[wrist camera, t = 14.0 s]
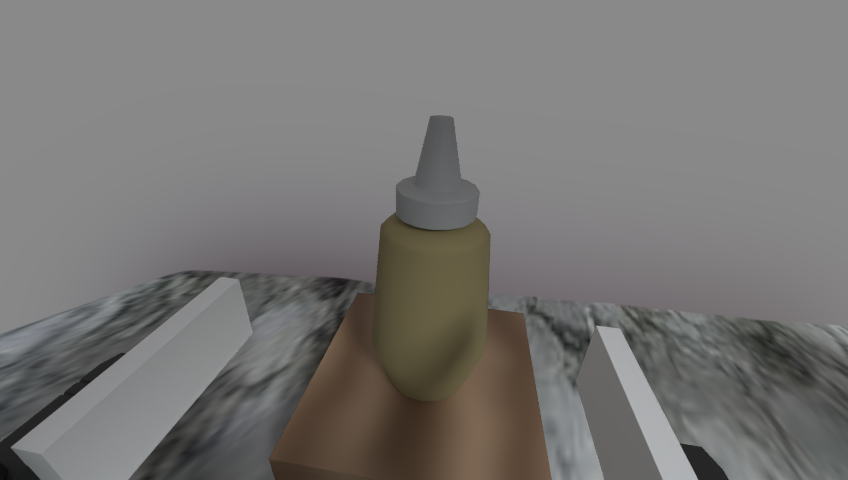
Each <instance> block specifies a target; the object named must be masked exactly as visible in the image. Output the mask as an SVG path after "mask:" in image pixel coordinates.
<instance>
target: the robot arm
mask: <svg viewBox="0 0 848 480" xmlns="http://www.w3.org/2000/svg"><path fill="white" fill-rule="evenodd" d="M252 334H253V332H252V328H251V324H250V320H249V316H248V312H247V309H246V305H245V301H244V297H243V293H242V290H241V286H240V282H239V279H233V278H225V277H220V278H219V279H217V280H216V281H215V282H214V283H212V284H211V285H210V286H209V287H207V288H206V289H205V290H204V291H203V292H201V293H200V294H199V295H198V296H196V297H195V298H194V299H193V300H191V301H190V302H189V303H188V304H187V305H185V306H184V307H183V308H182V309H180V310H179V311H178V312H177V313H175V314H174V315H173V316H172V317H171V318H169V319H168V320H167V321H166V322H164V323H163V324H162V325H161V326H159V327H158V328H157V329H156V330H155V331H153V332H152V333H151V334H150V335H148V336H147V337H146V338H145V339H143V340H142V341H141V342H140V343H139V344H137V345H136V346H135V347H134V348H132V349H131V350H130V351H129V352H127V353H120V354H118V355H117V356H115V357H113V358H111V359H109V360H107V361H105V362H103V363H102V364H100V365H98V366H97V367H96V368H95V369H93V370H92V371H91V372H89V373H88V374H87V375H86V376H84V377H83V378H82V379H81V381H80V382H79V383H75V384H74V385H73V386H72V387H70V388H69V389H68V390H67V391H65V393H64V395H60V396H59V397H58V398H56V399H55V400H54V401H52V402H51V403H50V404H49V405H47V406H46V407H45V408H44V409H42V410H41V411H40V412H38V413H37V414H36V415H35V416H33V417H32V418H31V419H30V420H28V421H27V422H26V423H24V424H23V425H22V426H21V427H19V428H18V429H17V430H16V431H14V432H13V433H12V434H10V435H9V436H8V437H7V438H5V439H4V440H3V441H2V442H0V480H128V479H129V478H130V477H131V476H132V475H133V473H134V472H135V471H136V470H137V469H138V467H139V466H140V465H141V464H142V463H143V462H144V460H145V459H146V458H147V457H148V456H149V455H150V453H151V452H152V451H153V450H154V449H155V448H156V446H157V445H158V444H159V443H160V442H161V441H162V439H163V438H164V437H165V436H166V435H167V433H168V432H169V431H170V430H171V429H172V428H173V426H174V425H175V424H176V423H177V422H178V421H179V419H180V418H181V417H182V416H183V415H184V414H185V412H186V411H187V410H188V409H189V408H190V407H191V405H192V404H193V403H194V402H195V401H196V399H197V398H198V397H199V396H200V395H201V394H202V392H203V391H204V390H205V389H206V388H207V387H208V385H209V384H210V383H211V382H212V381H213V380H214V378H215V377H216V376H217V375H218V374H219V373H220V371H221V370H222V369H223V368H224V367H225V365H226V364H227V363H228V362H229V361H230V360H231V358H232V357H233V356H234V355H235V354H236V353H237V351H238V350H239V349H240V348H241V347H242V346H243V344H244V343H245V342H246V341H247V340H248V339H249V337H250V336H251V335H252ZM576 383H577V387H578V390H579V394H580V397H581V401H582V404H583V407H584V411H585V414H586V418H587V421H588V425H589V428H590V431H591V435H592V438H593V442H594V445H595V448H596V452H597V455H598V459H599V462H600V466H601V469H602V472H603V476H604V479H605V480H729V479H728V478H727V476H726V474H725V473H724V471H723V469H722V468H721V467H720V466H719V465H718V464H717V463H716V462H715V461H714V460H713V459H712V458H711V457H710V456H709V455H708V453H707V452H706V451H705V450H704V449H703V448H702V447H698V446H692V445H686V444H680V443H679V442H678V440H677V438H676V436H675V434H674V432H673V430H672V428H671V426H670V424H669V422H668V420H667V418H666V417H665V415H664V413H663V411H662V409H661V407H660V405H659V403H658V401H657V399H656V397H655V395H654V393H653V391H652V389H651V388H650V386H649V384H648V382H647V380H646V378H645V376H644V374H643V372H642V370H641V368H640V366H639V364H638V362H637V360H636V359H635V357H634V355H633V353H632V351H631V349H630V347H629V345H628V343H627V341H626V339H625V337H624V335H623V333H622V331H621V330H620V329H619V328H611V327H603V326H596V327H595V330H594V333H593V336H592V339H591V341H590V344H589V347H588V350H587V352H586V355H585V358H584V361H583V363H582V366H581V369H580V372H579V374H578V377H577V380H576Z"/></svg>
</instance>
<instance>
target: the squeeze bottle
mask: <svg viewBox="0 0 848 480" xmlns="http://www.w3.org/2000/svg"><path fill="white" fill-rule="evenodd" d="M479 193H480V192H479V190H478V188H477V187H476V185H475V184H473V183H471V182H469V181H467V180H464V179H461V174H460V166H459V158H458V151H457V142H456V135H455V126H454V119H453V117H450V116H431V117H430V120H429V124H428V128H427V132H426V136H425V140H424V144H423V148H422V152H421V156H420V160H419V164H418V168H417V172H416V176H413V177H409V178H406V179H403V180H402V181H401V182H399V183H398V184H397V185H396V212H395V213H394V214H393V215H391V216H390V217H389V218H388V219H387V220H386V221H385V222H384V223H383V224H382V225H381V230H380V242H379V253H378V265H377V278H376V288H375V300H374V311H373V323H372V336H371V344H372V346H373V348H374V350H375V352H376V354H377V356H378V358H379V359H380V361H381V363H382V365H383V367H384V369H385V371H386V373H387V375H388V377H389V379H390V380H391V382H392V384H393V386H394V387H395V388H396V389H397V390H398V391H400V392H401V393H402V394H403V395H405V396H406V397H409V398H412V399H415V400H419V401H422V402H423V401H439V400H442V399H444V398H446V397H448V396H451V395H453V394H454V393H455V392H456V391H457V390H458V389H459V388H460V386H461V385H462V384H463V383H464V381H465V380H466V379H467V377H468V376H469V375H470V373H471V372H472V370H473V369H474V368H475V366H476V365H477V363H478V362H479V361H480V359H481V358H482V356H483V354H484V349H485V345H486V340H487V318H488V290H489V262H490V260H489V259H490V233H489V231H488V229H487V227H486V226H485V224H484V223H482V222H481V221H480V220H479V219H478V218H476V216H477V209H478V202H479Z"/></svg>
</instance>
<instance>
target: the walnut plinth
mask: <svg viewBox="0 0 848 480" xmlns="http://www.w3.org/2000/svg"><path fill="white" fill-rule="evenodd" d="M374 300H375V295H372V294H364V293H357V295H356V297H355V299H354V301H353V303H352V305H351V306H350V308H349V310H348V312H347V314H346V316H345V318H344V319H343V321H342V323H341V325H340V327H339V329H338V331H337V333H336V334H335V336H334V338H333V340H332V342H331V344H330V346H329V347H328V349H327V351H326V353H325V355H324V357H323V359H322V361H321V362H320V364H319V366H318V368H317V370H316V372H315V374H314V375H313V377H312V379H311V381H310V383H309V385H308V387H307V389H306V390H305V392H304V394H303V396H302V398H301V400H300V402H299V403H298V405H297V407H296V409H295V411H294V413H293V415H292V417H291V418H290V420H289V422H288V424H287V426H286V428H285V430H284V431H283V433H282V435H281V437H280V439H279V441H278V443H277V445H276V446H275V448H274V450H273V452H272V454H271V456H270V458H269V461H270V464H271V468H272V471H273V474H274V477H275V480H552V479H551V473H550V468H549V462H548V456H547V450H546V444H545V438H544V432H543V426H542V421H541V415H540V409H539V403H538V397H537V391H536V385H535V380H534V374H533V368H532V362H531V356H530V350H529V344H528V338H527V333H526V327H525V321H524V315H523V313H517V312H509V311H501V310H493V309H488V318H487V340H486V345H485V349H484V354H483V356H482V358H481V359H480V361H479V362H478V363H477V365H476V366H475V368H474V369H473V370H472V372H471V373H470V375H469V376H468V377H467V379H466V380H465V381H464V383H463V384H462V385H461V386H460V388H459V389H458V390H457V391H456V392H455V393H454V394H453V395H451V396H448V397H446V398H444V399H442V400H439V401H423V402H422V401H419V400H415V399H412V398H409V397H406V396H405V395H403V394H402V393H401V392H400V391H398V390H397V389H396V388H395V387H394V386H393V384H392V382H391V380H390V379H389V377H388V375H387V373H386V371H385V369H384V367H383V365H382V363H381V361H380V359H379V358H378V356H377V354H376V352H375V350H374V348H373V346H372V344H371V336H372V323H373V311H374Z"/></svg>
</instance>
